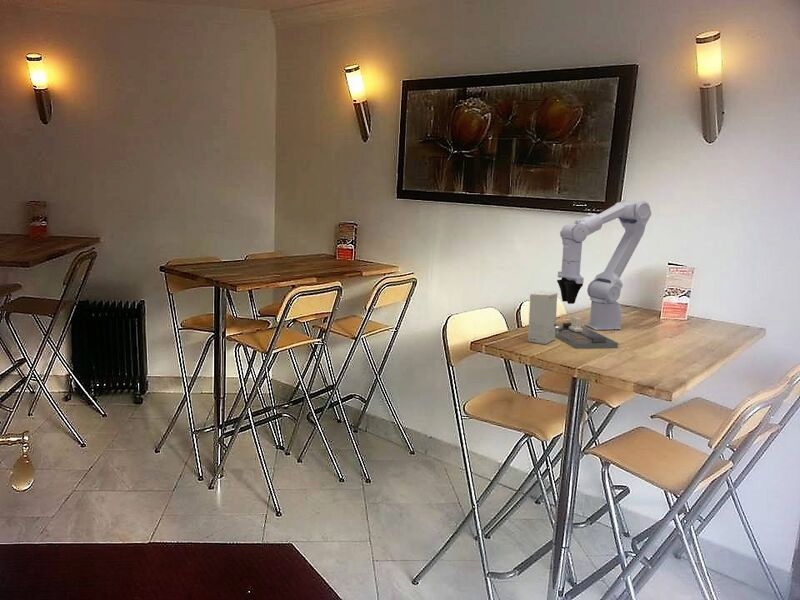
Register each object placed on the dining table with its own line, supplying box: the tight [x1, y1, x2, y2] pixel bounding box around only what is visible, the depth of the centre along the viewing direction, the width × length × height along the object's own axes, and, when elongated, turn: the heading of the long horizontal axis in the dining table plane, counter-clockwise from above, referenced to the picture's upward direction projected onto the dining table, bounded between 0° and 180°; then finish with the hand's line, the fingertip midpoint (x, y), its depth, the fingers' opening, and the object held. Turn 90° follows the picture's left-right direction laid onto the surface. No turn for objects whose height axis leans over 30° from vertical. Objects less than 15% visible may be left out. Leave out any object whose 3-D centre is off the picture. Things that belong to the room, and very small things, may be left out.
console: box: [555, 322, 619, 349], centre depth 184 cm, size 13×22×3 cm, turn 10°
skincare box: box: [527, 291, 558, 345], centre depth 179 cm, size 8×6×15 cm
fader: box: [569, 316, 583, 332], centre depth 188 cm, size 3×4×4 cm, turn 10°
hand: (568, 302), depth 194 cm, fingers open, 3 cm apart
